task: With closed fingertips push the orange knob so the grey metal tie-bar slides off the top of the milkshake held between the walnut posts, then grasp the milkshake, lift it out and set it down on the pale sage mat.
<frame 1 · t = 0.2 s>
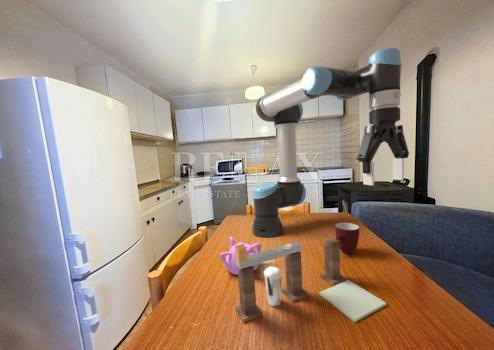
hand: (383, 182, 64), 28 cm above the table, fingers open, 13 cm apart
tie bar: (269, 248, 55), point 15 cm above the table, slide at 0.0 cm
mat: (351, 299, 55), on the table
milkshake: (272, 303, 56), on the table
tie frame: (272, 302, 56), on the table
mug: (345, 253, 80), on the table
teapot: (242, 268, 74), on the table
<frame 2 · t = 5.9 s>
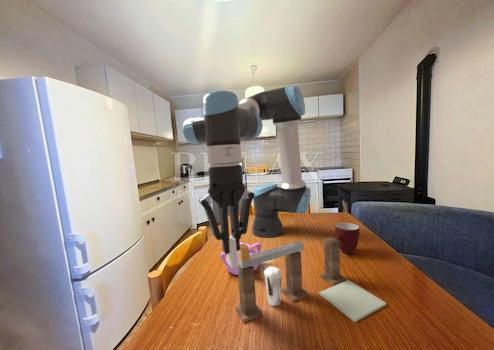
hand: (232, 264, 51), 13 cm above the table, fingers closed
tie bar: (272, 247, 55), point 15 cm above the table, slide at 0.7 cm, touching gripper
everything else where it was.
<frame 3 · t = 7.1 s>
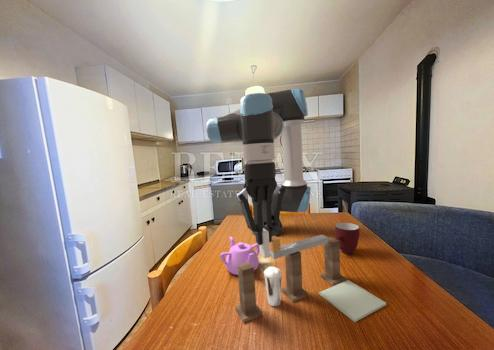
hand: (264, 255, 54), 13 cm above the table, fingers closed
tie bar: (299, 240, 58), point 15 cm above the table, slide at 9.4 cm, touching gripper
everything else where it was.
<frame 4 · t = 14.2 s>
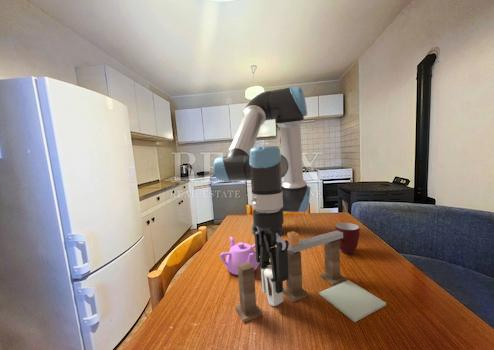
hand: (272, 296, 56), 2 cm above the table, fingers closed on milkshake, 4 cm apart
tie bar: (316, 235, 61), point 15 cm above the table, slide at 15.3 cm
milkshake: (272, 303, 56), on the table, touching gripper
everything else where it was.
when the fingers open (3 cm above the table, at t = 21.3 s): milkshake stays where it is, resting on mat.
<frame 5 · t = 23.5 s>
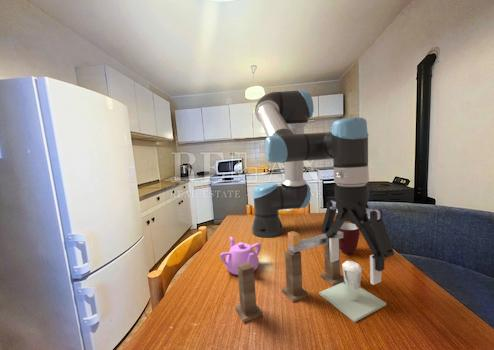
hand: (353, 270, 54), 8 cm above the table, fingers open, 11 cm apart
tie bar: (316, 235, 61), point 15 cm above the table, slide at 15.5 cm, touching gripper
milkshake: (350, 297, 55), resting on mat
everything else where it was.
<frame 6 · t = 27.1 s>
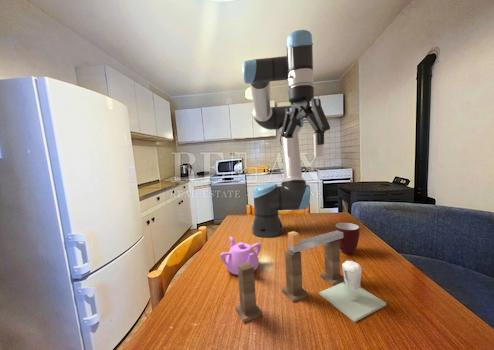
hand: (303, 157, 68), 37 cm above the table, fingers open, 13 cm apart
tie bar: (316, 235, 61), point 15 cm above the table, slide at 15.5 cm
everything else where it was.
at the end: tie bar slide at 15.5 cm; milkshake inside the target area on the mat (0.1 cm from its centre), point 0.4 cm above the mat's base; the gripper is holding nothing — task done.
